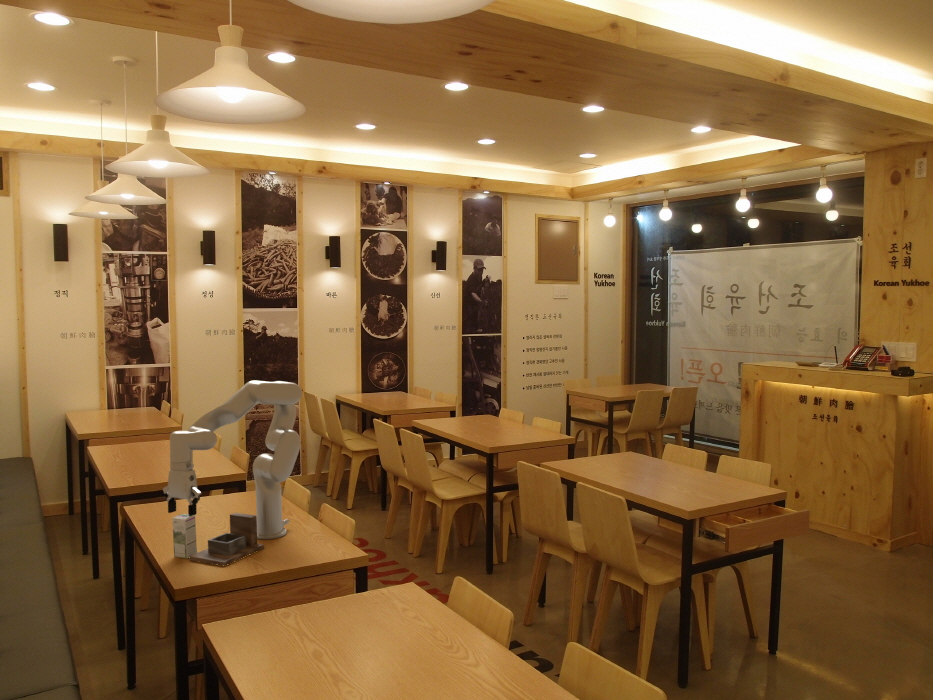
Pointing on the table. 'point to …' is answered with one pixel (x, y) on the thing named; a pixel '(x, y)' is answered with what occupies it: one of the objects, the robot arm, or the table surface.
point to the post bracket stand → (232, 542)
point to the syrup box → (184, 535)
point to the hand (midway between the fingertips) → (182, 513)
